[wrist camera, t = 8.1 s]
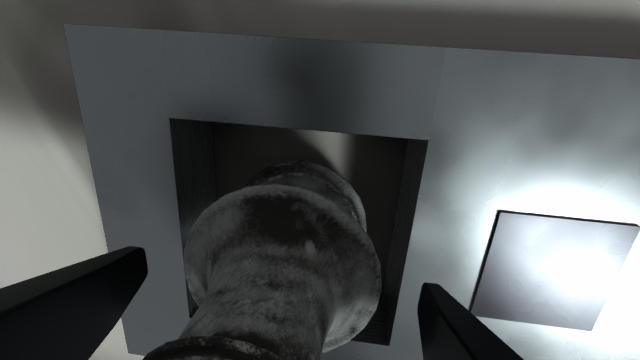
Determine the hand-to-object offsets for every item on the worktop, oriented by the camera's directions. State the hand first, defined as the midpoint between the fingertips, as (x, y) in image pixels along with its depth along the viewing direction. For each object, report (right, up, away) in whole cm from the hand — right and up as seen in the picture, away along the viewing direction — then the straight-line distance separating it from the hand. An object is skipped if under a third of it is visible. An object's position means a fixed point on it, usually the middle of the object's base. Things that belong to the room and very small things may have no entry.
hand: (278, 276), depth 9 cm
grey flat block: (+3, +1, +4) cm, 6 cm away
